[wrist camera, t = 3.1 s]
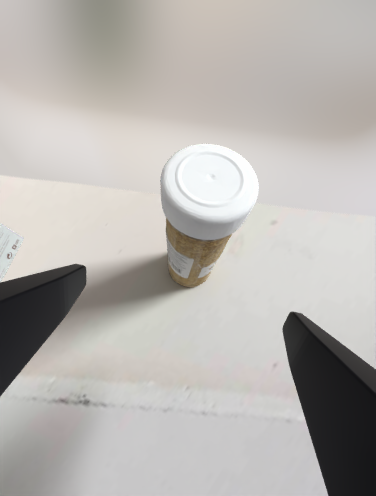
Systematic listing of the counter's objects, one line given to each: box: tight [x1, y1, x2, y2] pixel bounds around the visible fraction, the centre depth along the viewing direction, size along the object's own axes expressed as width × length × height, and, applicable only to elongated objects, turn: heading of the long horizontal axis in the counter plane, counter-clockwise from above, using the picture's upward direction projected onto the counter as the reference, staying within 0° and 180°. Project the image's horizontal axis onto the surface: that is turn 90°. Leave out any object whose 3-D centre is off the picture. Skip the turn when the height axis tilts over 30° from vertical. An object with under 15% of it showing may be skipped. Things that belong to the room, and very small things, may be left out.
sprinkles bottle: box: [161, 144, 259, 287], centre depth 15 cm, size 5×5×14 cm
